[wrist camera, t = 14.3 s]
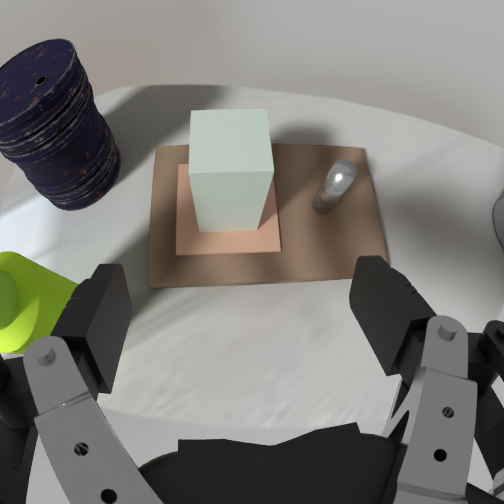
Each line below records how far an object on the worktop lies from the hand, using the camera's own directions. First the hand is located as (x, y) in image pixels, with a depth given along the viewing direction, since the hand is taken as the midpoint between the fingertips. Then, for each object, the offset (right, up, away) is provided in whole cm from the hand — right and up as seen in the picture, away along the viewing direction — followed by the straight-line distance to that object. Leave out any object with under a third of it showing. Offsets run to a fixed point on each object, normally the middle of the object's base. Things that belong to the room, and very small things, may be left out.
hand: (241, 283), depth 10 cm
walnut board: (+2, +5, +20) cm, 21 cm away
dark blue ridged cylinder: (-18, +10, +20) cm, 29 cm away
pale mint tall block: (-2, +5, +18) cm, 19 cm away
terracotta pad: (-2, +5, +18) cm, 19 cm away
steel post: (+7, +6, +19) cm, 21 cm away
